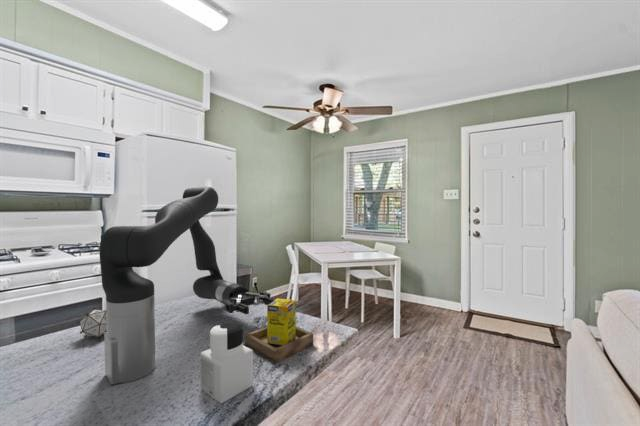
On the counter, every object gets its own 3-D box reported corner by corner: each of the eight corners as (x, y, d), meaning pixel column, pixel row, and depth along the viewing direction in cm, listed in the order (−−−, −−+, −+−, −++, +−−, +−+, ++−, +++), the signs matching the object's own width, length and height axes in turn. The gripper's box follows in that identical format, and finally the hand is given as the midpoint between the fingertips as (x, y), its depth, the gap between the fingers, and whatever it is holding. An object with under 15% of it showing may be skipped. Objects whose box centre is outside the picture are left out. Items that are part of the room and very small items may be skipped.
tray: (275, 363, 70) (275, 351, 70) (245, 345, 79) (245, 334, 79) (313, 344, 80) (313, 333, 80) (282, 330, 89) (282, 320, 89)
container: (232, 372, 67) (232, 315, 66) (253, 385, 62) (253, 324, 61) (200, 388, 61) (199, 326, 60) (221, 405, 56) (220, 337, 55)
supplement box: (287, 349, 75) (287, 307, 75) (266, 346, 77) (266, 304, 77) (296, 339, 81) (296, 299, 81) (276, 336, 83) (276, 297, 82)
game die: (92, 348, 86) (87, 315, 89) (123, 334, 88) (117, 303, 92) (71, 346, 78) (67, 310, 81) (106, 331, 80) (100, 297, 84)
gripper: (211, 287, 91) (238, 299, 80) (250, 279, 101) (280, 288, 90) (211, 311, 91) (238, 326, 80) (250, 301, 102) (280, 313, 90)
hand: (260, 306), depth 85 cm, fingers open, 8 cm apart
